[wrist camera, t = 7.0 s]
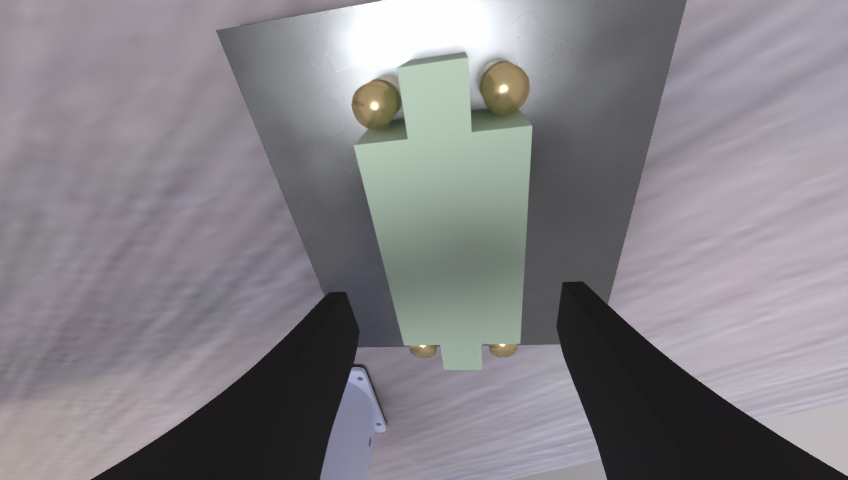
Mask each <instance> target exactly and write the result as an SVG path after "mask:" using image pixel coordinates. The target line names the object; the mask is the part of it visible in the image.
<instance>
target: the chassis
mask: <svg viewBox="0 0 848 480" xmlns="http://www.w3.org/2000/svg"><path fill="white" fill-rule="evenodd" d="M685 4H686V0H384V1H378V2H373V3H367V4H361V5H356V6H350V7H344V8H339V9H333V10H328V11H322V12H316V13H311V14H305V15H299V16H294V17H288V18H283V19H277V20H271V21H266V22H260V23H254V24H249V25H243V26H238V27H232V28H226V29H221V30H216V32H217V34H218V36H219V39H220V41H221V44H222V46H223V49H224V51H225V54H226V56H227V58H228V61H229V63H230V66H231V68H232V71H233V73H234V75H235V78H236V80H237V83H238V85H239V88H240V90H241V93H242V95H243V97H244V100H245V102H246V105H247V107H248V110H249V112H250V115H251V117H252V119H253V122H254V124H255V127H256V129H257V132H258V134H259V136H260V139H261V141H262V144H263V146H264V149H265V151H266V154H267V156H268V158H269V161H270V163H271V166H272V168H273V171H274V173H275V175H276V178H277V180H278V183H279V185H280V188H281V190H282V193H283V195H284V197H285V200H286V202H287V205H288V207H289V210H290V212H291V215H292V217H293V219H294V222H295V224H296V227H297V229H298V232H299V234H300V236H301V239H302V241H303V244H304V246H305V249H306V251H307V254H308V256H309V258H310V261H311V263H312V266H313V268H314V271H315V273H316V276H317V278H318V280H319V283H320V285H321V288H322V290H323V293H324V295H325V296H326V295H327V294H328V293H329V292H346V293H347V296H348V299H349V302H350V305H351V307H352V310H353V313H354V316H355V319H356V322H357V324H358V327H359V330H360V334H359V340H358V345H357V347H405V346H404V343H403V339H402V335H401V331H400V327H399V323H398V320H397V316H396V312H395V308H394V304H393V300H392V296H391V292H390V288H389V284H388V280H387V276H386V272H385V268H384V264H383V260H382V256H381V252H380V248H379V244H378V240H377V236H376V232H375V228H374V224H373V220H372V216H371V213H370V209H369V205H368V201H367V197H366V193H365V189H364V185H363V181H362V177H361V173H360V169H359V165H358V161H357V157H356V153H355V149H354V144H355V143H356V142H357V141H358V140H359V139H360V138H361V137H362V135H363V134H364V133H365V132H366V131H367V130H368V129H372V130H379V129H382V128H385V127H386V126H387V125H388V124H389V123H390V122H391V121H392V120H396V119H404V111H403V105H402V98H401V92H400V86H399V79H398V73H397V67H399V66H401V65H402V64H404V63H406V62H408V61H409V60H413V59H420V58H427V57H434V56H441V55H447V54H454V53H461V52H466V54H467V56H468V64H469V85H470V107H471V110H479V109H489V110H491V111H492V112H494V113H496V114H499V115H507V114H511V113H513V112H515V111H517V110H518V109H519V110H520V111H521V112H522V114H523V115H524V116H525V117H526V118H527V120H528V121H529V122H530V123H531V124H532V142H531V160H530V178H529V195H528V213H527V231H526V249H525V267H524V285H523V302H522V320H521V338H520V344H482V345H489V349H490V352H491V353H492V354H493V355H495V356H497V357H509V356H512V355H513V354H515V353H516V351H517V345H541V344H560V340H559V336H558V332H557V328H556V325H557V318H558V310H559V303H560V296H561V289H562V282H576V281H583V282H584V283H585V284H587V285H588V286H589V287H590V288H591V289H592V290H593V291H594V292H595V293H596V294H597V295H598V296H599V297H600V298H601V299H602V300H603V301H604V302H605V303H606V304H608V301H609V298H610V294H611V290H612V286H613V282H614V278H615V274H616V271H617V267H618V263H619V259H620V255H621V251H622V247H623V244H624V240H625V236H626V232H627V228H628V224H629V220H630V217H631V213H632V209H633V205H634V201H635V197H636V193H637V190H638V186H639V182H640V178H641V174H642V170H643V166H644V163H645V159H646V155H647V151H648V147H649V143H650V139H651V136H652V132H653V128H654V124H655V120H656V116H657V112H658V109H659V105H660V101H661V97H662V93H663V89H664V85H665V82H666V78H667V74H668V70H669V66H670V62H671V58H672V54H673V51H674V47H675V43H676V39H677V35H678V31H679V27H680V24H681V20H682V16H683V12H684V8H685ZM407 346H410V351H411V353H412V354H413V355H415V356H417V357H420V358H429V357H432V356H433V355H434V354H435V353H436V346H440V345H407Z"/></svg>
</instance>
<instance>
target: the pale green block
mask: <svg viewBox="0 0 848 480" xmlns="http://www.w3.org/2000/svg"><path fill="white" fill-rule="evenodd" d="M397 73H398V79H399V86H400V92H401V98H402V105H403V111H404V119H396V120H392V121H391V122H390V123H389V124H388V125H387V126H386V127H385V128H382V129H379V130H372V129H368V130H367V131H366V132H365V133H364V134H363V135H362V137H361V138H360V139H359V140H358V141H357V142H356V143H355V144H354V149H355V153H356V157H357V161H358V165H359V169H360V173H361V177H362V181H363V185H364V189H365V193H366V197H367V201H368V205H369V209H370V213H371V216H372V220H373V224H374V228H375V232H376V236H377V240H378V244H379V248H380V252H381V256H382V260H383V264H384V268H385V272H386V276H387V280H388V284H389V288H390V292H391V296H392V300H393V304H394V308H395V312H396V316H397V320H398V323H399V327H400V331H401V335H402V339H403V343H404V346H407V345H440V348H441V354H442V361H443V367H444V370H483V366H482V344H520V338H521V320H522V302H523V285H524V267H525V249H526V231H527V213H528V195H529V178H530V160H531V142H532V124H531V123H530V122H529V121H528V120H527V118H526V117H525V116H524V115H523V114H522V112H521V111H520V110H519V109H518V110H517V111H515V112H513V113H511V114H507V115H499V114H496V113H494V112H492V111H491V110H489V109H479V110H471V107H470V85H469V64H468V56H467V54H466V52H461V53H454V54H447V55H441V56H434V57H427V58H420V59H413V60H409V61H408V62H406V63H404V64H402V65H401V66H399V67H397Z"/></svg>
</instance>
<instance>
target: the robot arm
mask: <svg viewBox="0 0 848 480" xmlns="http://www.w3.org/2000/svg"><path fill="white" fill-rule="evenodd" d="M556 328H557V332H558V336H559V340H560V344H561V348H562V352H563V355H564V358H565V361H566V364H567V366H568V369H569V372H570V374H571V377H572V380H573V382H574V385H575V387H576V390H577V392H578V395H579V398H580V400H581V403H582V405H583V408H584V410H585V413H586V416H587V418H588V421H589V423H590V426H591V428H592V431H593V434H594V437H595V440H596V443H597V446H598V449H599V453H600V456H601V459H602V463H603V466H604V470H605V473H606V477H607V480H848V476H846V475H844V474H843V473H841V472H839V471H837V470H836V469H834V468H832V467H831V466H829V465H827V464H825V463H824V462H822V461H820V460H819V459H817V458H815V457H814V456H812V455H810V454H809V453H807V452H805V451H804V450H802V449H800V448H799V447H797V446H795V445H794V444H792V443H791V442H789V441H787V440H786V439H784V438H783V437H781V436H779V435H778V434H776V433H775V432H773V431H772V430H770V429H769V428H767V427H766V426H764V425H762V424H761V423H759V422H758V421H756V420H755V419H753V418H752V417H750V416H749V415H747V414H745V413H744V412H742V411H741V410H739V409H738V408H736V407H735V406H733V405H732V404H731V403H729V402H728V401H726V400H725V399H723V398H722V397H720V396H719V395H718V394H716V393H715V392H713V391H712V390H711V389H709V388H708V387H706V386H705V385H704V384H702V383H701V382H699V381H698V380H697V379H695V378H694V377H693V376H691V375H690V374H689V373H687V372H686V371H685V370H683V369H682V368H681V367H679V366H678V365H677V364H675V363H674V362H673V361H672V360H670V359H669V358H668V357H667V356H666V355H664V354H663V353H662V352H661V351H659V350H658V349H657V348H656V347H654V346H653V345H652V344H651V343H650V342H649V341H647V340H646V339H645V338H644V337H643V336H642V335H641V334H639V333H638V332H637V331H636V330H635V329H634V328H633V327H631V326H630V325H629V324H628V323H627V322H626V321H625V320H624V319H623V318H621V317H620V316H619V315H618V314H617V313H616V312H615V311H614V310H613V309H612V308H611V307H610V306H609V305H608V304H606V303H605V302H604V301H603V300H602V299H601V298H600V297H599V296H598V295H597V294H596V293H595V292H594V291H593V290H592V289H591V288H590V287H589V286H588V285H587V284H585V283H584V282H583V281H576V282H562V289H561V296H560V303H559V310H558V318H557V325H556ZM359 334H360V330H359V327H358V324H357V322H356V319H355V316H354V313H353V310H352V307H351V305H350V302H349V299H348V296H347V293H346V292H329V293H328V294H327V295H326V296H325V297H324V298H323V299H322V300H321V301H320V302H319V303H318V304H317V305H316V306H315V307H314V308H313V309H312V310H311V311H310V312H309V313H308V314H307V315H306V316H305V318H304V319H303V320H302V321H301V322H300V323H299V324H298V325H297V326H296V327H295V328H294V329H293V330H292V331H291V332H290V333H289V334H288V335H287V336H286V337H285V338H284V339H283V340H282V341H281V342H279V343H278V344H277V345H276V346H275V347H274V348H273V349H272V350H271V351H270V352H269V353H268V354H267V355H266V356H264V357H263V358H262V359H261V360H260V361H259V362H258V363H257V364H256V365H255V366H254V367H252V368H251V369H250V370H249V371H248V372H247V373H245V374H244V375H243V376H242V377H241V378H239V379H238V380H237V381H236V382H235V383H233V384H232V385H231V386H230V387H228V388H227V389H226V390H225V391H223V392H222V393H221V394H220V395H218V396H217V397H216V398H214V399H213V400H211V401H210V402H209V403H207V404H206V405H205V406H203V407H202V408H201V409H199V410H198V411H196V412H195V413H194V414H192V415H191V416H190V417H188V418H187V419H186V420H184V421H183V422H181V423H180V424H178V425H177V426H176V427H174V428H173V429H171V430H170V431H168V432H167V433H165V434H164V435H162V436H161V437H159V438H158V439H156V440H155V441H153V442H151V443H150V444H148V445H147V446H145V447H144V448H142V449H141V450H139V451H137V452H136V453H134V454H133V455H131V456H129V457H128V458H126V459H125V460H123V461H121V462H120V463H118V464H116V465H115V466H113V467H111V468H110V469H108V470H106V471H105V472H103V473H101V474H99V475H98V476H96V477H94V478H93V479H91V480H366V478H367V473H368V468H369V463H370V458H371V453H372V448H373V443H374V438H375V433H376V432H385V431H386V428H387V426H386V423H385V420H384V418H383V415H382V412H381V410H380V407H379V405H378V402H377V399H376V397H375V394H374V391H373V389H372V386H371V384H370V381H369V378H368V376H367V373H366V371H365V369H363V368H361V367H352V366H353V363H354V360H355V355H356V350H357V345H358V340H359Z"/></svg>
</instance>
